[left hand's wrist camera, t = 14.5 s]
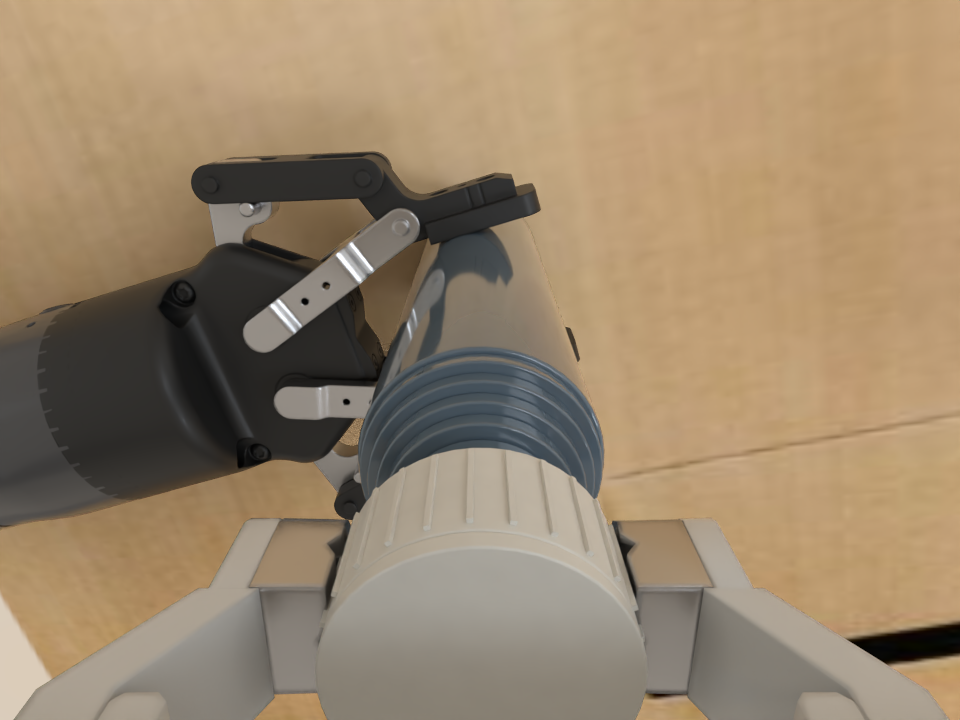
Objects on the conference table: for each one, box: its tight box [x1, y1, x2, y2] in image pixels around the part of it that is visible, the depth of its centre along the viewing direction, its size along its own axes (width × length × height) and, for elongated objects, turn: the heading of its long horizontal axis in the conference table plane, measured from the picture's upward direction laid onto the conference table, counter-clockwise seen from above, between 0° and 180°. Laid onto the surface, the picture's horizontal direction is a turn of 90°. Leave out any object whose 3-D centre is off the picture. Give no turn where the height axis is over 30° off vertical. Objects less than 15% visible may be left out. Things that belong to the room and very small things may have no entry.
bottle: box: [358, 218, 604, 501], centre depth 19 cm, size 5×5×23 cm
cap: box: [315, 448, 648, 720], centre depth 9 cm, size 4×4×2 cm
